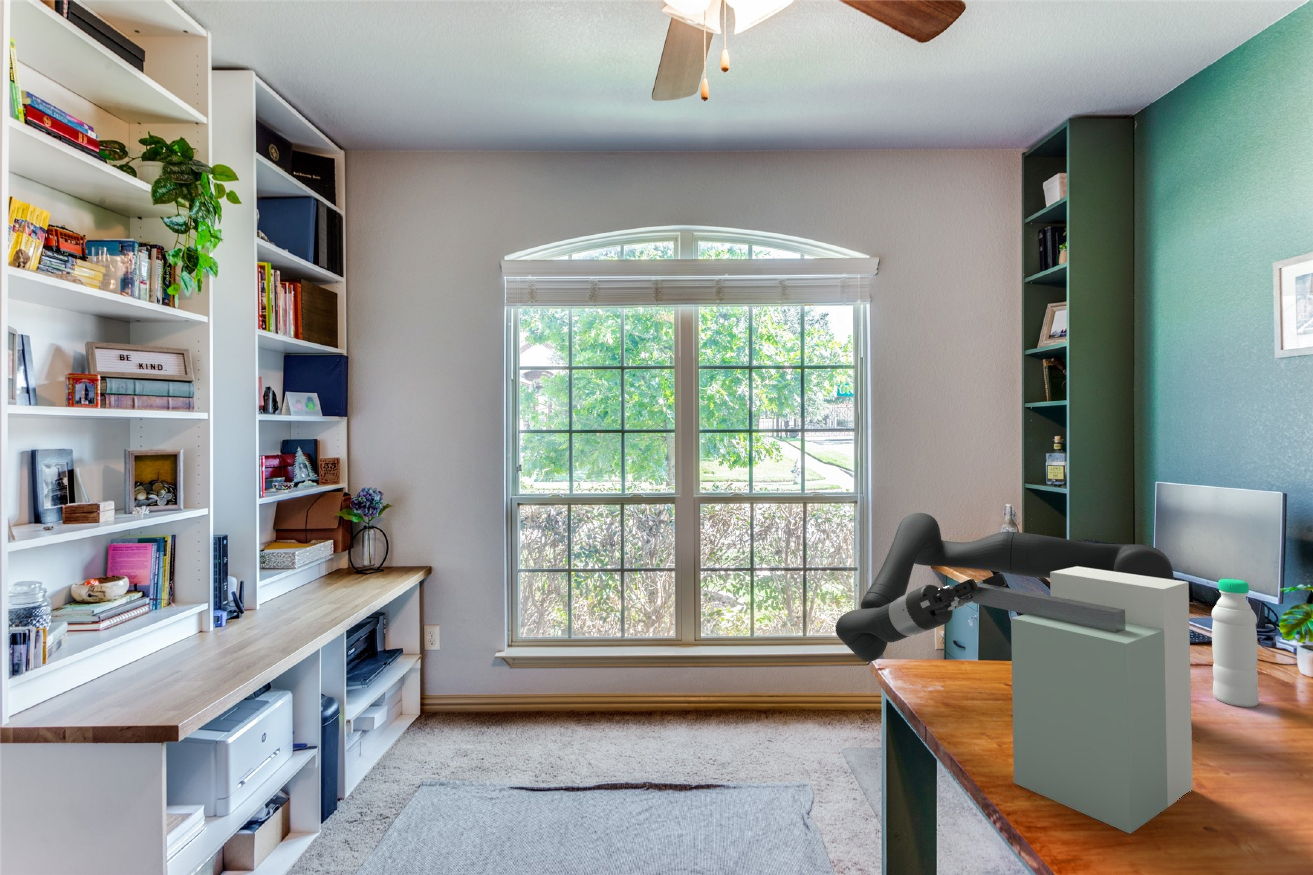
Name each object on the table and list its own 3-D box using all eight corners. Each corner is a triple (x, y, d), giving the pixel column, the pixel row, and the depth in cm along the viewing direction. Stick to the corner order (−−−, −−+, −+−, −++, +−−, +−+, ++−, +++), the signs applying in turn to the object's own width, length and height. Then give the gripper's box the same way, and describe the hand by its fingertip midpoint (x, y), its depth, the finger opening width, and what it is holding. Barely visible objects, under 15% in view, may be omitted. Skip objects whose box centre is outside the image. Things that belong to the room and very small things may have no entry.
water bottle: (1204, 695, 137) (1201, 577, 137) (1234, 694, 137) (1232, 576, 138) (1236, 708, 130) (1234, 584, 130) (1268, 707, 130) (1266, 583, 131)
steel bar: (973, 602, 113) (972, 585, 113) (983, 600, 114) (982, 583, 114) (1115, 632, 94) (1115, 612, 94) (1125, 629, 95) (1125, 609, 96)
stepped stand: (1013, 782, 102) (1010, 580, 103) (1080, 749, 113) (1076, 566, 114) (1130, 833, 89) (1125, 599, 89) (1192, 789, 100) (1188, 581, 100)
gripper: (886, 596, 121) (955, 564, 109) (933, 587, 129) (1002, 556, 117) (904, 636, 118) (976, 608, 106) (951, 624, 125) (1023, 596, 114)
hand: (990, 581), depth 112 cm, fingers open, 8 cm apart
